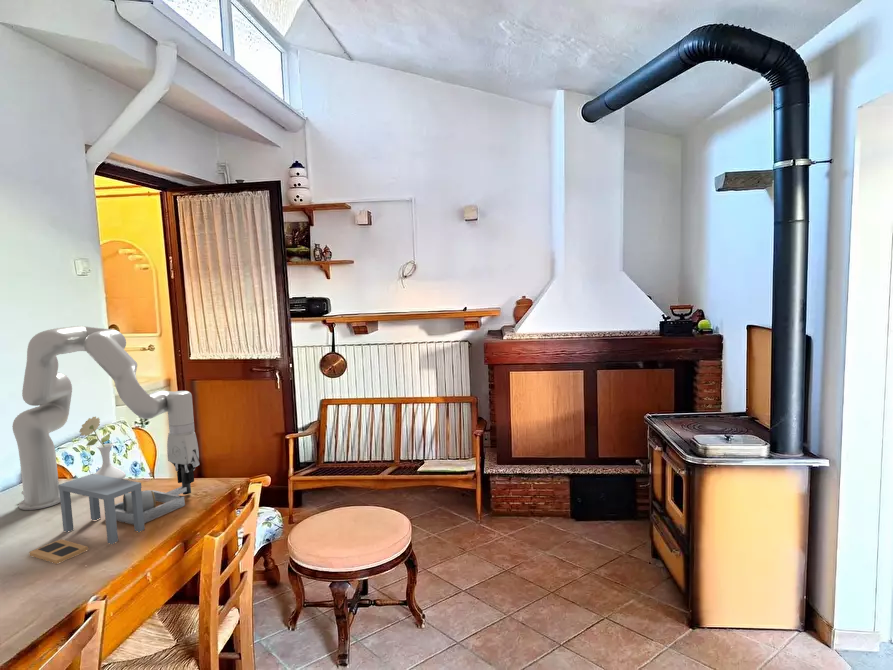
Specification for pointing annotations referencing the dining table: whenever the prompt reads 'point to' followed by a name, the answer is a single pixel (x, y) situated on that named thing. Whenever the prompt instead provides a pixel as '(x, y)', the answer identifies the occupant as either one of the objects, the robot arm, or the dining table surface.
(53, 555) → the board
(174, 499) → the grey open frame
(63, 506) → the grey side table
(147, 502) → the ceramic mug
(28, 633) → the dining table surface
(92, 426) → the flower in vase
